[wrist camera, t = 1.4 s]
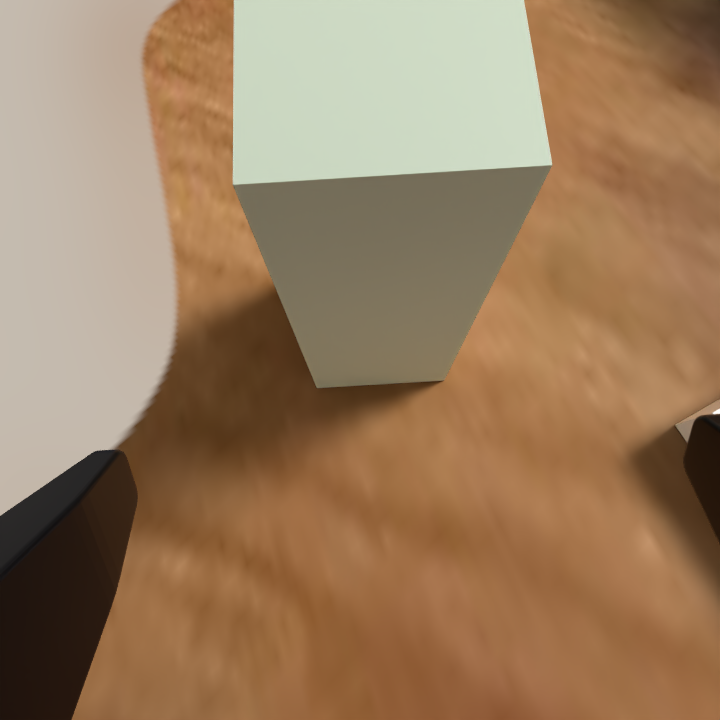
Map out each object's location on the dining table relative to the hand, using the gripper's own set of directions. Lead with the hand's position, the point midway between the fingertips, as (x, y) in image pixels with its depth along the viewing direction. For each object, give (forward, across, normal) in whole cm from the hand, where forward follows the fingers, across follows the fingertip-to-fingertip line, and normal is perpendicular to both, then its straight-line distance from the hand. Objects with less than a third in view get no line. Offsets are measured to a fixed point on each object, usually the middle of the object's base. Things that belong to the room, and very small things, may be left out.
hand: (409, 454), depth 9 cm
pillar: (+14, 0, +4) cm, 14 cm away
